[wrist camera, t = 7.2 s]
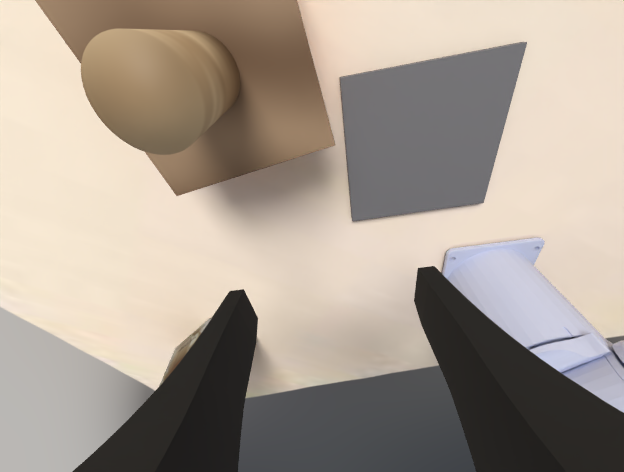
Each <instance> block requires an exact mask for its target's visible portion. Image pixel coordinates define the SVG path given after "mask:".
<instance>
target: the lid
mask: <svg viewBox="0 0 624 472" xmlns="http://www.w3.org/2000/svg"><path fill="white" fill-rule="evenodd" d="M35 1H36V2H37V3H38V5H39V6H40V8H41V9H42V10H43V12H44V13H45V15H46V16H47V17H48V19H49V20H50V21H51V23H52V24H53V26H54V27H55V28H56V30H57V31H58V32H59V34H60V35H61V37H62V38H63V39H64V41H65V42H66V44H67V45H68V46H69V48H70V49H71V50H72V52H73V53H74V55H75V56H76V57H77V59H78V60H79V62H80V63H81V76H82V82H83V87H84V90H85V93H86V95H87V98H88V100H89V102H90V104H91V106H92V107H93V109H94V111H95V112H96V114H97V115H98V117H99V118H100V119H101V120H102V122H103V123H104V124H105V125H106V126H107V127H108V128H109V129H110V130H111V131H112V132H113V133H114V134H115V135H116V136H118V137H119V138H120V139H122V140H123V141H124V142H126V143H128V144H129V145H131V146H133V147H135V148H137V149H139V150H142V151H145V153H146V154H147V155H148V157H149V158H150V160H151V161H152V162H153V164H154V165H155V167H156V168H157V169H158V171H159V172H160V173H161V175H162V176H163V178H164V179H165V180H166V182H167V183H168V184H169V186H170V187H171V189H172V190H173V191H174V193H175V194H176V196H179V195H182V194H185V193H188V192H191V191H194V190H197V189H200V188H203V187H207V186H210V185H213V184H216V183H219V182H222V181H225V180H228V179H231V178H235V177H238V176H241V175H244V174H247V173H250V172H253V171H256V170H259V169H263V168H266V167H269V166H272V165H275V164H278V163H281V162H284V161H287V160H291V159H294V158H297V157H300V156H303V155H306V154H309V153H312V152H315V151H319V150H322V149H325V148H328V147H331V146H334V145H335V142H334V138H333V135H332V131H331V127H330V123H329V120H328V116H327V112H326V108H325V105H324V101H323V97H322V93H321V90H320V86H319V82H318V78H317V74H316V71H315V67H314V63H313V59H312V56H311V52H310V48H309V44H308V41H307V37H306V33H305V29H304V26H303V22H302V18H301V14H300V11H299V7H298V3H297V0H35Z"/></svg>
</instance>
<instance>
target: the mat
mask: <svg viewBox="0 0 624 472" xmlns="http://www.w3.org/2000/svg"><path fill="white" fill-rule="evenodd" d="M526 44H527V42H520V43H515V44H509V45H504V46H499V47H494V48H489V49H483V50H478V51H473V52H468V53H463V54H457V55H452V56H447V57H442V58H437V59H432V60H426V61H421V62H416V63H411V64H406V65H400V66H395V67H390V68H385V69H380V70H374V71H369V72H364V73H359V74H354V75H348V76H343V77H340V88H341V100H342V111H343V123H344V134H345V145H346V157H347V168H348V180H349V191H350V203H351V214H352V221H359V220H366V219H373V218H380V217H387V216H394V215H401V214H408V213H415V212H422V211H429V210H436V209H443V208H450V207H457V206H465V205H472V204H479V203H484V199H485V195H486V192H487V188H488V184H489V181H490V177H491V173H492V170H493V166H494V162H495V159H496V155H497V151H498V148H499V144H500V140H501V137H502V133H503V129H504V125H505V122H506V118H507V114H508V111H509V107H510V103H511V100H512V96H513V92H514V89H515V85H516V81H517V78H518V74H519V70H520V67H521V63H522V59H523V56H524V52H525V48H526Z"/></svg>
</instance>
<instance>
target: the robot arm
mask: <svg viewBox="0 0 624 472" xmlns="http://www.w3.org/2000/svg"><path fill="white" fill-rule="evenodd" d="M544 242H545V241H544V240H543V239H542V238H530V239H522V240H514V241H506V242H499V243H491V244H483V245H475V246H467V247H459V248H452V249H449V250H448V251H447V252H446V256H445V261H444V266H443V271H442V273H441V272H440V271H439V270H438V269H437V268H436V267H434V266H431V267H423V268H418V272H417V281H416V290H415V298H414V302H415V305H416V308H417V312H418V315H419V318H420V321H421V324H422V327H423V329H424V331H425V334H426V336H427V338H428V341H429V343H430V345H431V347H432V350H433V352H434V354H435V357H436V359H437V361H438V363H439V366H440V368H441V370H442V372H443V375H444V377H445V379H446V382H447V384H448V387H449V389H450V392H451V394H452V397H453V400H454V403H455V406H456V409H457V412H458V415H459V418H460V421H461V424H462V427H463V430H464V433H465V437H466V440H467V443H468V446H469V449H470V452H471V455H472V459H473V462H474V465H475V469H476V472H624V341H619V342H617V343H615V344H612V343H611V342H609V341H607V340H606V339H605V338H604V337H603V336H602V335H601V334H600V333H599V332H598V331H597V330H596V329H595V328H594V327H593V326H592V325H591V324H590V323H589V322H588V321H587V319H586V318H585V317H584V316H583V315H582V314H581V313H580V312H579V311H578V310H577V309H576V308H575V307H574V306H573V305H572V304H571V303H570V302H569V301H568V300H567V299H566V298H565V297H564V296H563V295H562V294H561V293H560V292H559V291H558V290H557V289H556V288H555V287H554V286H553V285H552V284H551V283H550V282H549V280H548V279H547V278H546V277H545V276H544V275H543V274H542V273H541V272H540V271H539V270H538V269H537V268H536V267H535V266H534V263H535V261H536V259H537V257H538V255H539V253H540V251H541V249H542V247H543V245H544ZM452 257H453V258H452ZM257 323H258V318H257V316H256V314H255V311H254V309H253V307H252V305H251V303H250V301H249V299H248V297H247V295H246V293H245V291H244V290H235V291H230V292H229V293H228V295H227V296H226V297H225V299H224V300H223V302H222V303H221V305H220V306H219V308H218V309H217V311H216V312H215V314H214V315H213V317H212V318H211V320H210V321H209V323H208V324H207V326H206V327H205V329H204V330H203V331H202V333H201V334H200V336H199V337H198V339H197V340H196V341H195V343H194V344H193V345H192V347H191V348H190V349H189V351H188V352H187V353H186V355H185V356H184V357H183V358H182V360H181V361H180V362H179V364H178V365H177V366H176V367H175V369H174V370H173V371H172V372H171V373H170V375H169V376H168V377H167V378H166V379H165V381H164V382H163V383H162V384H161V385H160V386H159V387H158V389H157V390H156V391H155V392H154V393H153V394H152V395H151V396H150V398H148V400H147V401H146V402H145V403H144V404H143V405H142V406H141V407H140V408H139V409H138V410H137V411H136V412H135V413H134V414H133V415H132V416H131V417H130V418H129V420H128V421H127V422H126V423H124V424H123V425H122V426H121V427H120V428H119V429H118V430H117V431H116V432H115V433H114V434H113V435H112V436H111V437H110V438H109V439H108V440H107V441H106V442H105V443H104V444H103V445H102V446H100V447H99V448H98V449H97V450H96V451H95V452H94V453H93V454H92V455H91V456H90V457H89V458H88V459H86V460H85V461H84V462H83V463H82V464H81V465H79V466H78V467H77V468H76V469H75V470H74V471H73V472H238V461H239V449H240V437H241V427H242V418H243V408H244V402H245V396H246V391H247V386H248V381H249V376H250V371H251V366H252V361H253V356H254V350H255V345H256V337H257Z"/></svg>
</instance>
